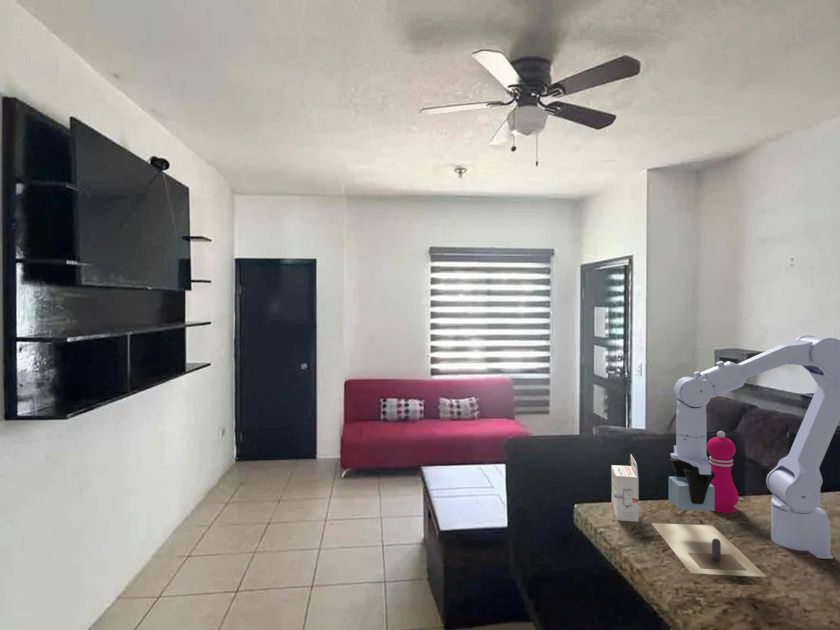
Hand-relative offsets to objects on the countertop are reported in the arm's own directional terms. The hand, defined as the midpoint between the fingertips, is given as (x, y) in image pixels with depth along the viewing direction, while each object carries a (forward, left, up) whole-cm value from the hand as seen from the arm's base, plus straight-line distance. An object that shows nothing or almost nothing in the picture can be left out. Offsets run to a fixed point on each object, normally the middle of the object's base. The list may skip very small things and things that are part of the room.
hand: (691, 497), depth 112 cm
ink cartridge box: (+11, -10, -10) cm, 18 cm away
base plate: (0, +6, -9) cm, 11 cm away
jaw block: (0, 0, -2) cm, 2 cm away
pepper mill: (-13, -16, -10) cm, 23 cm away
